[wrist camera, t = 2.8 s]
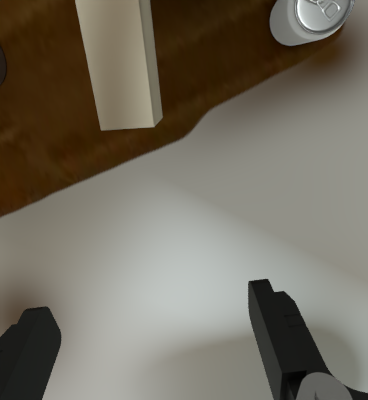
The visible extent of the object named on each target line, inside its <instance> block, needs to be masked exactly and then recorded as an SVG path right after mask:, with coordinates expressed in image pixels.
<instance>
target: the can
mask: <svg viewBox="0 0 368 400" xmlns="http://www.w3.org/2000/svg"><path fill="white" fill-rule="evenodd" d="M354 1H355V0H277V2H276V3H275V5H274V7H273V9H272V11H271V15H270V29H271V32H272V34H273V36H274V38H275V39H276V40H277V41H278V42H280V43H281V44H284V45H288V46H293V45H299V44H304V43H308V42H312V41H316V40H320V39H323V38H326V37H328V36H329V35H331V34H333V33H334V32H335V31H336V30H338V29H339V28H340V27H341V25H342V24H343V23H344V21H345V20H346V19H347V18H348V16H349V14H350V12H351V11H352V8H353V6H354Z"/></svg>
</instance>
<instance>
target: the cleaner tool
mask: <svg viewBox="0 0 368 400" xmlns="http://www.w3.org/2000/svg"><path fill="white" fill-rule="evenodd" d="M75 2H76V7H77V12H78V17H79V22H80V27H81V32H82V37H83V42H84V47H85V52H86V57H87V62H88V67H89V72H90V77H91V82H92V87H93V92H94V97H95V102H96V107H97V112H98V117H99V122H100V127H101V130H115V129H131V128H146V127H154V126H155V125H156V124H157V123H158V122H159V121H160V120H161V119H162V118H163V116H162V107H161V98H160V89H159V80H158V70H157V61H156V52H155V43H154V33H153V24H152V15H151V6H150V0H75Z"/></svg>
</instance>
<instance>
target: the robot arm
mask: <svg viewBox="0 0 368 400" xmlns="http://www.w3.org/2000/svg"><path fill="white" fill-rule="evenodd" d="M5 73H6V61H5V57H4V54H3V51H2V49H1V47H0V84H1V83H2V82H3V80H4V77H5ZM248 305H249V306H248V307H249V316H250V320H251V324H252V328H253V331H254V334H255V338H256V341H257V344H258V348H259V351H260V354H261V358H262V361H263V365H264V368H265V371H266V375H267V378H268V381H269V385H270V388H271V392H272V395H273V398H274V400H368V393H365V392H360V391H357V390H353V389H351V388H349V387H347V386H345V385H344V384H342V383H341V382H340V381H339V380H337V379H336V378H335V377H334V376H333V375H332V374H331V373H330V371H329V370H328V368H327V367H326V365H325V363H324V361H323V359H322V356H321V354H320V352H319V350H318V348H317V346H316V344H315V342H314V340H313V338H312V336H311V334H310V332H309V330H308V328H307V327H306V324H305V322H304V320H303V318H302V316H301V314H300V311H299V309H298V307H297V305H296V303H295V301H294V300H293V299H291V297H290V296H289V295H287V294H286V293H285V292H284V291H281V292H274V291H273V289H272V287H271V284H270V282H269V281H268V279H263V280H254V281H249V283H248ZM60 345H61V332H60V329H59V327H58V325H57V323H56V321H55V319H54V317H53V315H52V313H51V311H50V309H49V308H48V307H37V308H30V309H26V310H25V311H24V312H23V313H22V315H21V317H20V319H19V321H18V323H17V324H14V325H11V327H9V329H8V330H7V331H6V332H5V333H4V334H3V335H2V336H1V337H0V400H42V398H43V395H44V392H45V389H46V386H47V383H48V380H49V378H50V375H51V372H52V369H53V366H54V363H55V360H56V357H57V354H58V352H59V348H60Z"/></svg>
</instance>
